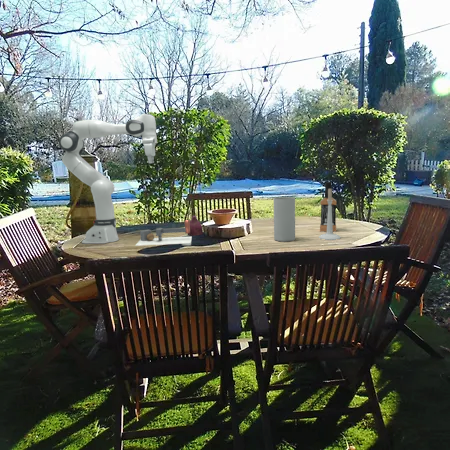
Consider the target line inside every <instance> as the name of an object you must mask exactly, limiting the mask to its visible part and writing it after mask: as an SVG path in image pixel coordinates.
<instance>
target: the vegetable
mask: <svg viewBox="0 0 450 450" xmlns="http://www.w3.org/2000/svg"><path fill="white" fill-rule="evenodd" d="M189 220H190V233H188V234H187V236H202V235H204V229H203V225H202V224H201V222H200V221H199V219H198V218H197V216H196V215H194V214H193V215H192V216H191V219H189Z"/></svg>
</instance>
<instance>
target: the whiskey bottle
mask: <svg viewBox="0 0 450 450" xmlns="http://www.w3.org/2000/svg"><path fill="white" fill-rule="evenodd" d="M328 189H332V182H331V181H327V182H325V190H324V198H322V199H321V200H320V225H319V232H321V231H327V217H328V201H327V200H328ZM332 200H333V201H332V204H331V206H332V228H333V231H336V232H337V223H336V221H337V220H336V218H337V217H336V216H337V215H336V212H337V210H336V209H337V208H336V207H337V200H336V199H335V198H334V197H332Z"/></svg>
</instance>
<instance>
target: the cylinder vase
mask: <svg viewBox="0 0 450 450" xmlns="http://www.w3.org/2000/svg"><path fill="white" fill-rule="evenodd" d="M273 239H274V240H275V241H276V242H283V243H285V242H292V241H293V242H294V240H296V198H295V196H294V197H293V196H278V197H273Z"/></svg>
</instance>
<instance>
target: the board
mask: <svg viewBox="0 0 450 450" xmlns="http://www.w3.org/2000/svg"><path fill="white" fill-rule="evenodd" d="M139 233H140V234H139V235H140V239H139V240H138V242H136V244H135V247H136V246H156V245H157V246H158V245H161V246H162V245H179V244H181V246H192V238H193V237H192V235H190V236H175V237H174V236H171V237H162V236H163V235H162V236H157V237H154V239H153V240H152V241H149V240H148V239H147V235H148V234H150V233H151V234H152V230H151V229H144V230H140V232H139Z"/></svg>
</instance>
